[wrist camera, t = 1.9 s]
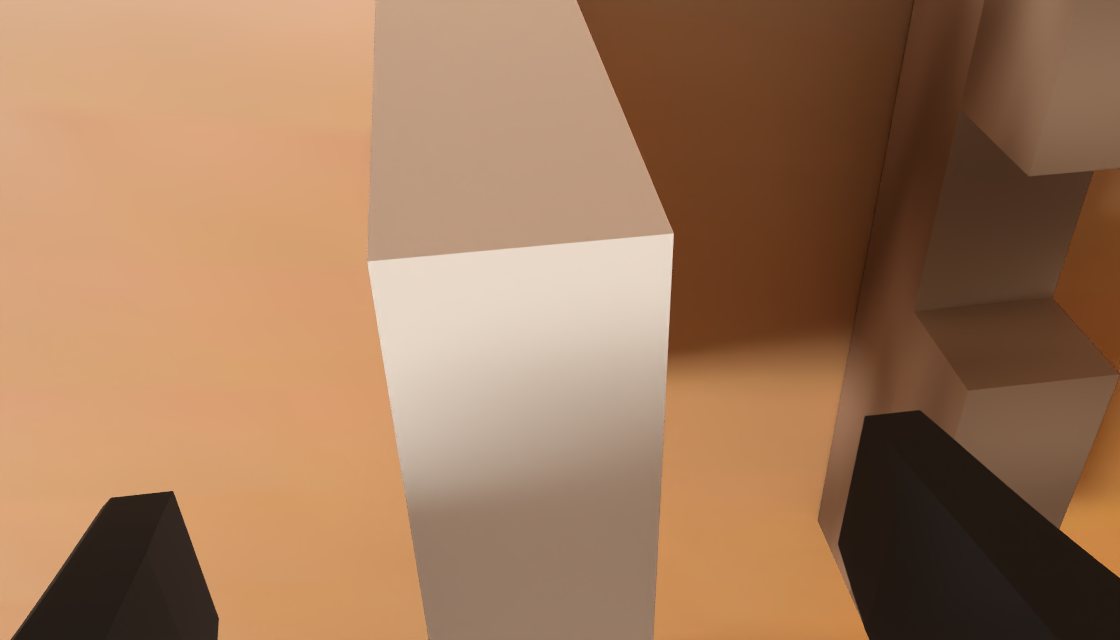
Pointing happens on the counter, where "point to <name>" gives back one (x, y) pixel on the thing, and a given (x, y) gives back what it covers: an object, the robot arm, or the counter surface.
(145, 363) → the counter surface
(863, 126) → the counter surface
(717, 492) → the counter surface
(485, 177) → the cream rectangular block
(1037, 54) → the walnut slotted plate
